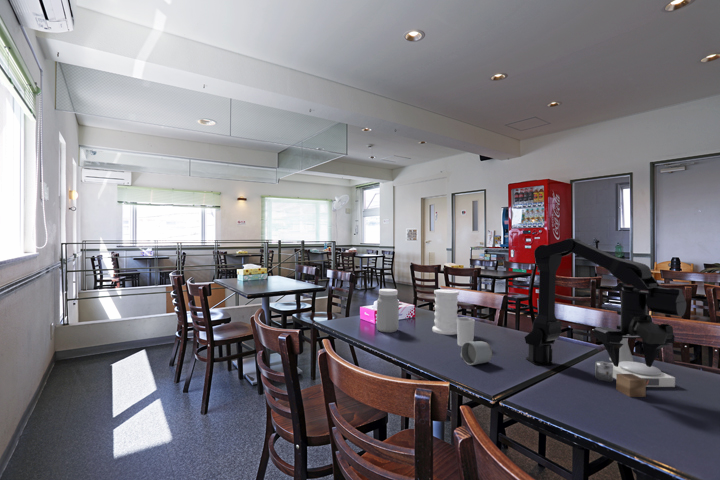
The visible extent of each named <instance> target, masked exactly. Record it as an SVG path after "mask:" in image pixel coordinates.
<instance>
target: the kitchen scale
mask: <svg viewBox="0 0 720 480" xmlns="http://www.w3.org/2000/svg"><path fill="white" fill-rule="evenodd" d="M610 363H611V364H613V362H610ZM617 374H633V375H636V376H638V377H640V378H642V379H644V380H646V388H675V387H676V377H674V376H673V375H670V374H667V373H665V372H662V371H661V369H659V368H658V367H656V366H653V365H652V366H651V367H648V366H646V363H642V362H639V361H634V362H631V361H622V362H619V365H618V367H616V366H614V364H613V379H614V380H616V379H617Z"/></svg>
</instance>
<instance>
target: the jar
mask: <svg viewBox="0 0 720 480" xmlns="http://www.w3.org/2000/svg"><path fill="white" fill-rule="evenodd" d="M399 311H400V301H399V299H398V289H394V288H380V289H378V298H377V300H376V329H377V330H378V331H379V332H380V333H395V332H397V331H398V329H399V316H400V315H399V314H400V313H399Z"/></svg>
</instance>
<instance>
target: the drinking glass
mask: <svg viewBox="0 0 720 480" xmlns="http://www.w3.org/2000/svg"><path fill="white" fill-rule="evenodd" d="M475 321H476V320H475V319H474V318H471V317H466V316H463V317H461V316H460V317H457V334H456V335H457V338H456V339H457V345H458V346H459V347H462V345H463V344H464V343H465V342H473V341H474V338H475V337H474V334H475Z"/></svg>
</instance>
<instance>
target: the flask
mask: <svg viewBox="0 0 720 480" xmlns="http://www.w3.org/2000/svg"><path fill="white" fill-rule="evenodd" d="M627 335H629V334H627ZM620 343H622V344H623V345H622V346H621V347H620V349H619V362H622V361H631V362H635V360H634V358H633V355H632V352H631V349H630V346H629V341H628V338H623V340H622V341H621V342H620ZM608 359H609V361H610V362H612V360H611V358H610V357H609V358H608Z"/></svg>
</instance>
